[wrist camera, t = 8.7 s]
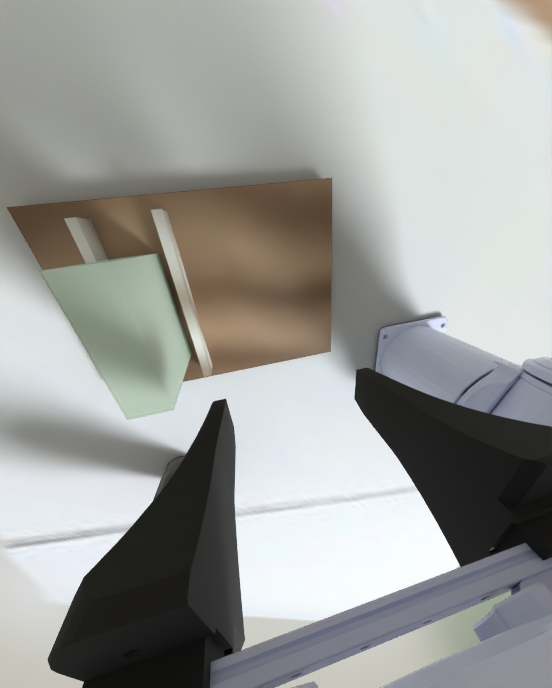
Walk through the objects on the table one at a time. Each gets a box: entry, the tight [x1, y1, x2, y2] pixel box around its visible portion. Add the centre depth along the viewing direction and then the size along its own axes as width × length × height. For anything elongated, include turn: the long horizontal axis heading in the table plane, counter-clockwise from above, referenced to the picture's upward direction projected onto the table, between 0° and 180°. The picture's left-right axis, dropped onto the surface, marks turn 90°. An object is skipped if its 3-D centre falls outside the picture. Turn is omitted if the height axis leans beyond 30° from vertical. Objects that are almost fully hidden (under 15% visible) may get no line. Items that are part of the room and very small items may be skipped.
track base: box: [7, 178, 332, 382], centre depth 17 cm, size 14×20×3 cm
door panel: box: [40, 253, 192, 420], centre depth 13 cm, size 8×2×7 cm, turn 6°
